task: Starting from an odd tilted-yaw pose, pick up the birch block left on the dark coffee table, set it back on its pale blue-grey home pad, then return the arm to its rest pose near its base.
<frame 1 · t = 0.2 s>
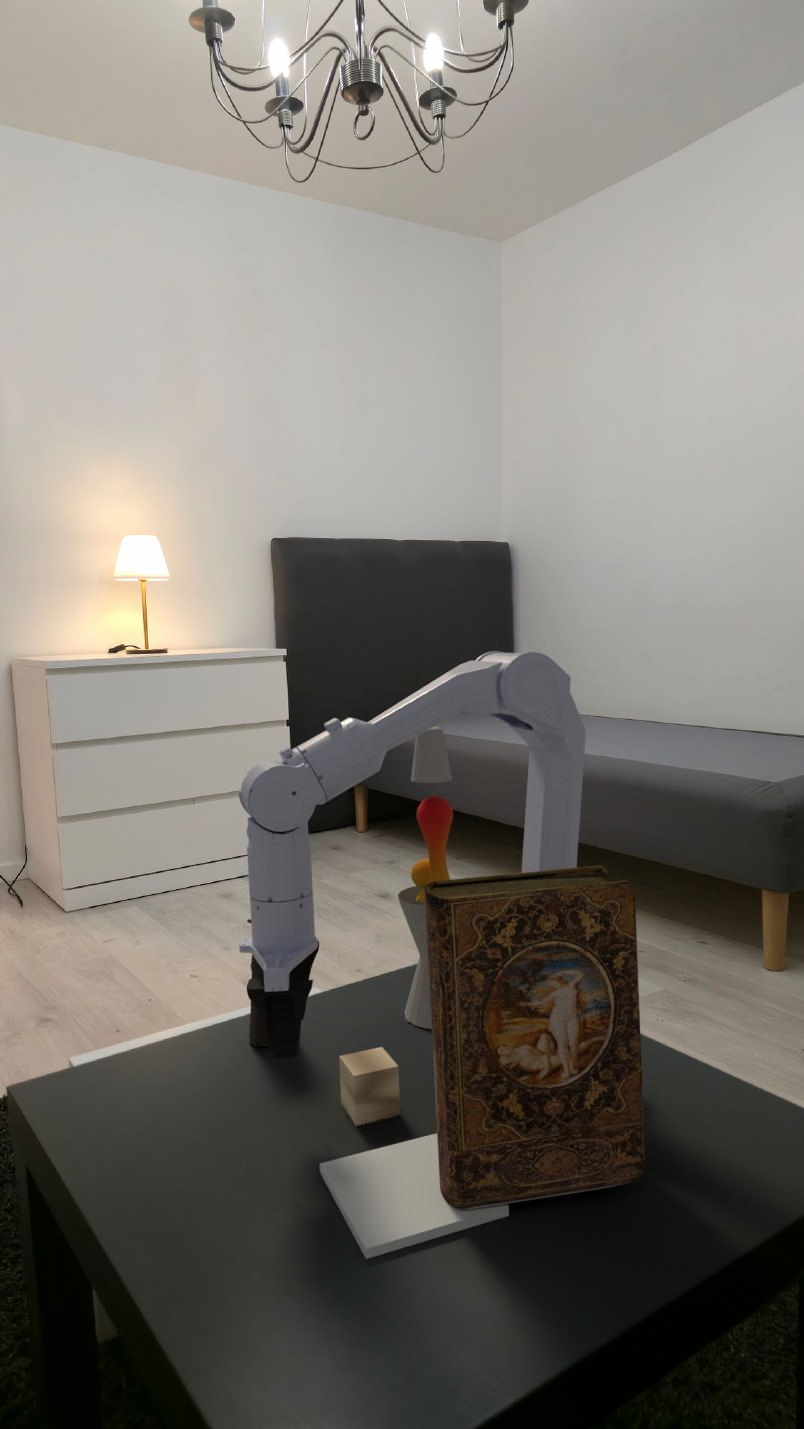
hand: (289, 1036, 84), 9 cm above the table, tool pointing down, fingers open, 7 cm apart
book: (538, 1180, 75), point 1 cm above the table, touching home pad
lava lamp: (439, 1016, 110), on the table
birch block: (370, 1110, 89), on the table
butter churn: (265, 1044, 104), on the table
home pad: (410, 1193, 75), on the table
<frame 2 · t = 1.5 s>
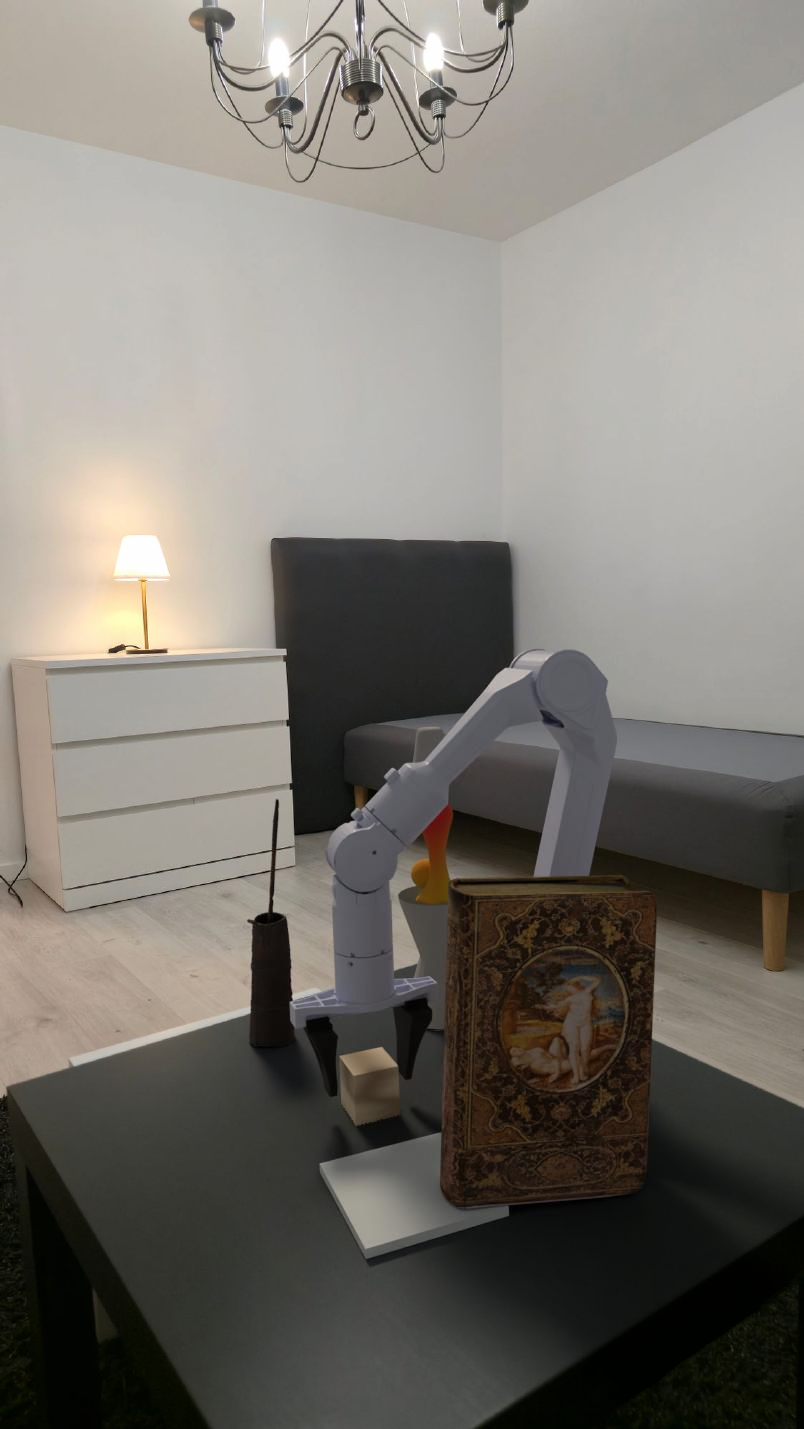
hand: (368, 1083, 88), 3 cm above the table, tool pointing down, fingers open, 7 cm apart
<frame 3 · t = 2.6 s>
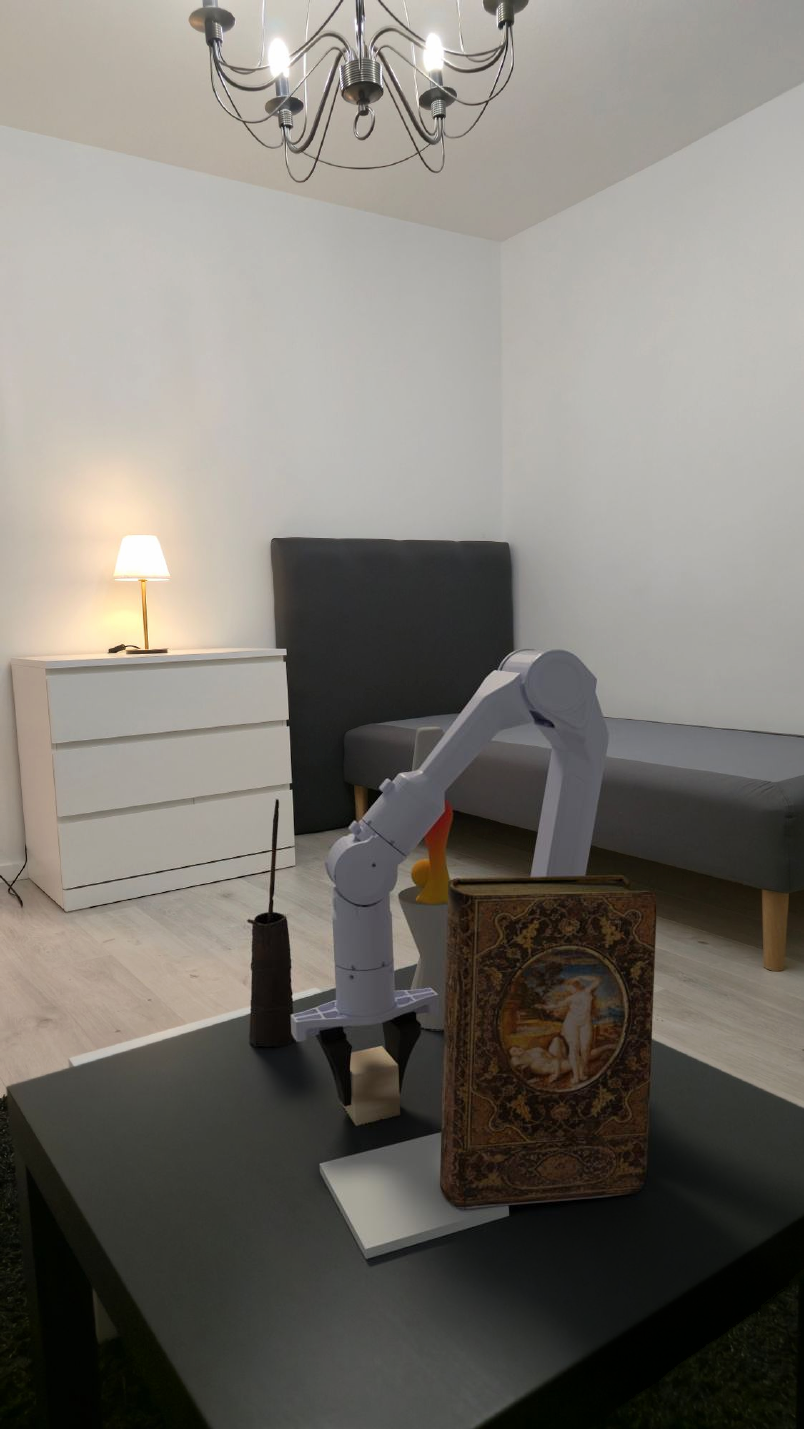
hand: (369, 1095, 89), 1 cm above the table, tool pointing down, fingers closed on birch block, 4 cm apart
book: (538, 1184, 75), on the table, touching home pad
birch block: (370, 1109, 89), on the table, touching gripper
everything else where it was.
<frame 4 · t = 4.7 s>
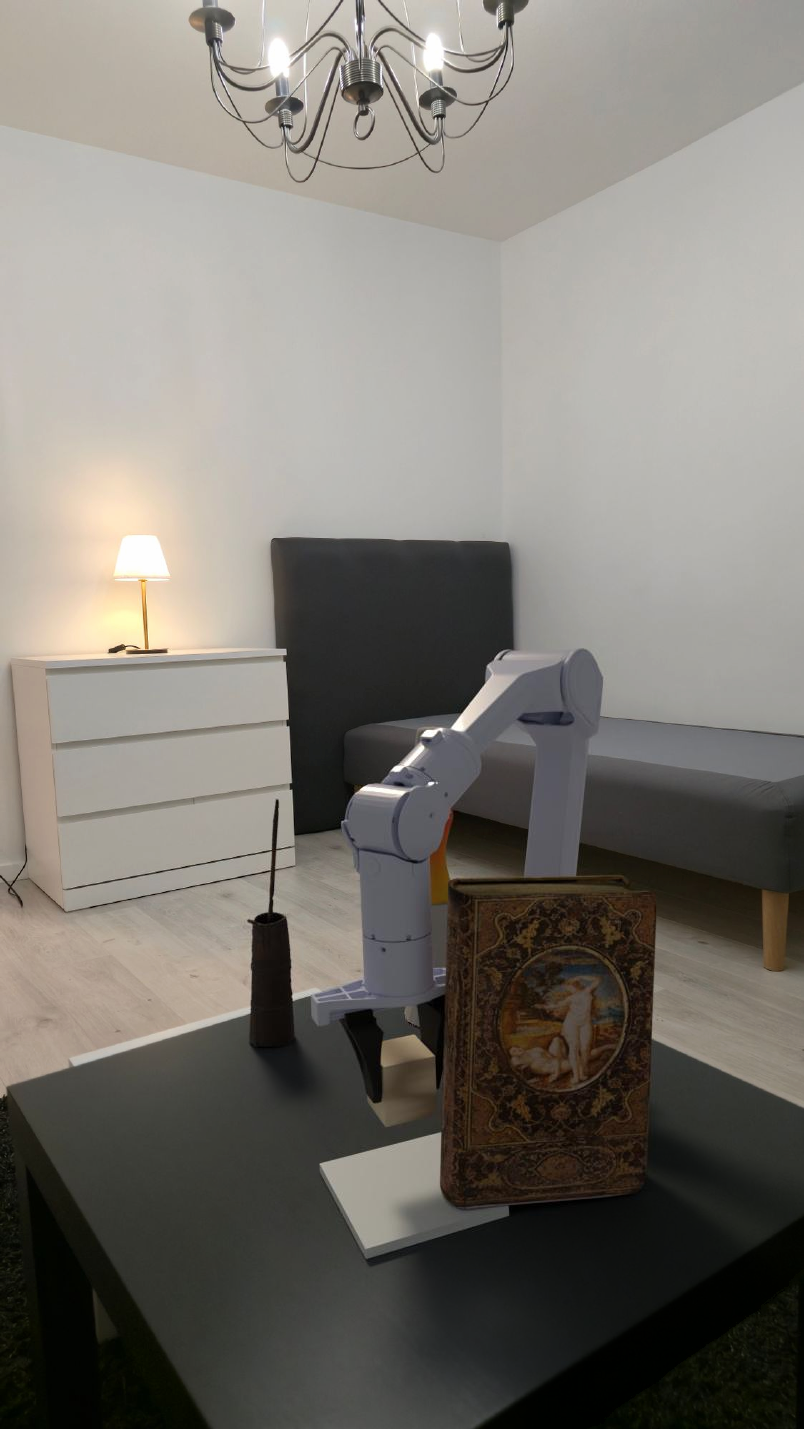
hand: (403, 1090, 75), 8 cm above the table, tool pointing down, fingers closed on birch block, 4 cm apart
birch block: (401, 1108, 76), point 7 cm above the table, touching gripper
everything else where it was.
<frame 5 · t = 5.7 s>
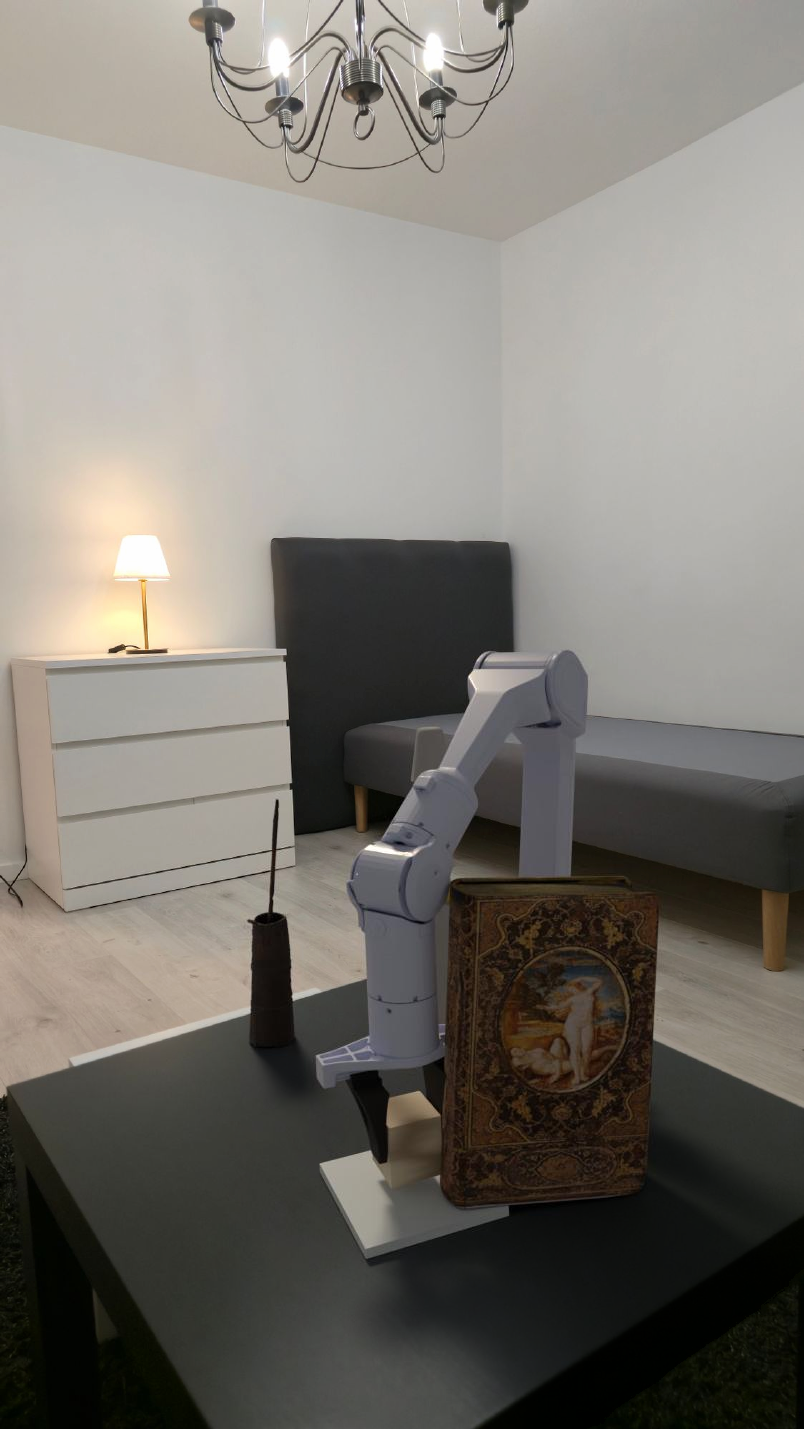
hand: (408, 1149, 75), 4 cm above the table, tool pointing down, fingers closed on birch block, 4 cm apart
birch block: (407, 1166, 75), point 2 cm above the table, touching gripper
everything else where it was.
when the fingers open (4 cm above the table, at t = 6.6 s): birch block stays where it is, resting on book, home pad.
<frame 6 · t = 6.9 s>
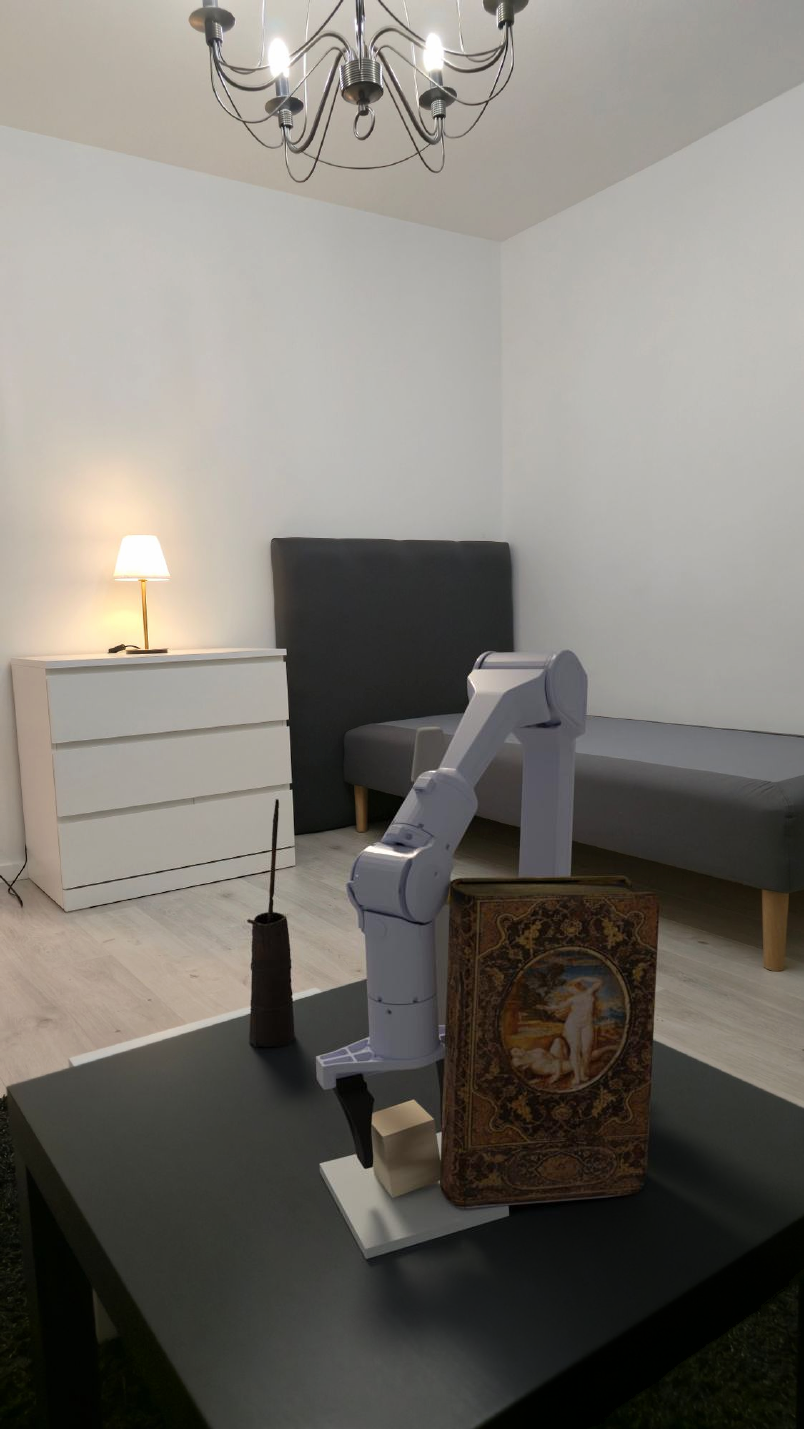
hand: (408, 1150, 75), 4 cm above the table, tool pointing down, fingers open, 7 cm apart
book: (538, 1184, 75), on the table, touching arm, birch block, home pad
birch block: (408, 1176, 75), point 1 cm above the table, tilted 8°, touching book, home pad
everything else where it was.
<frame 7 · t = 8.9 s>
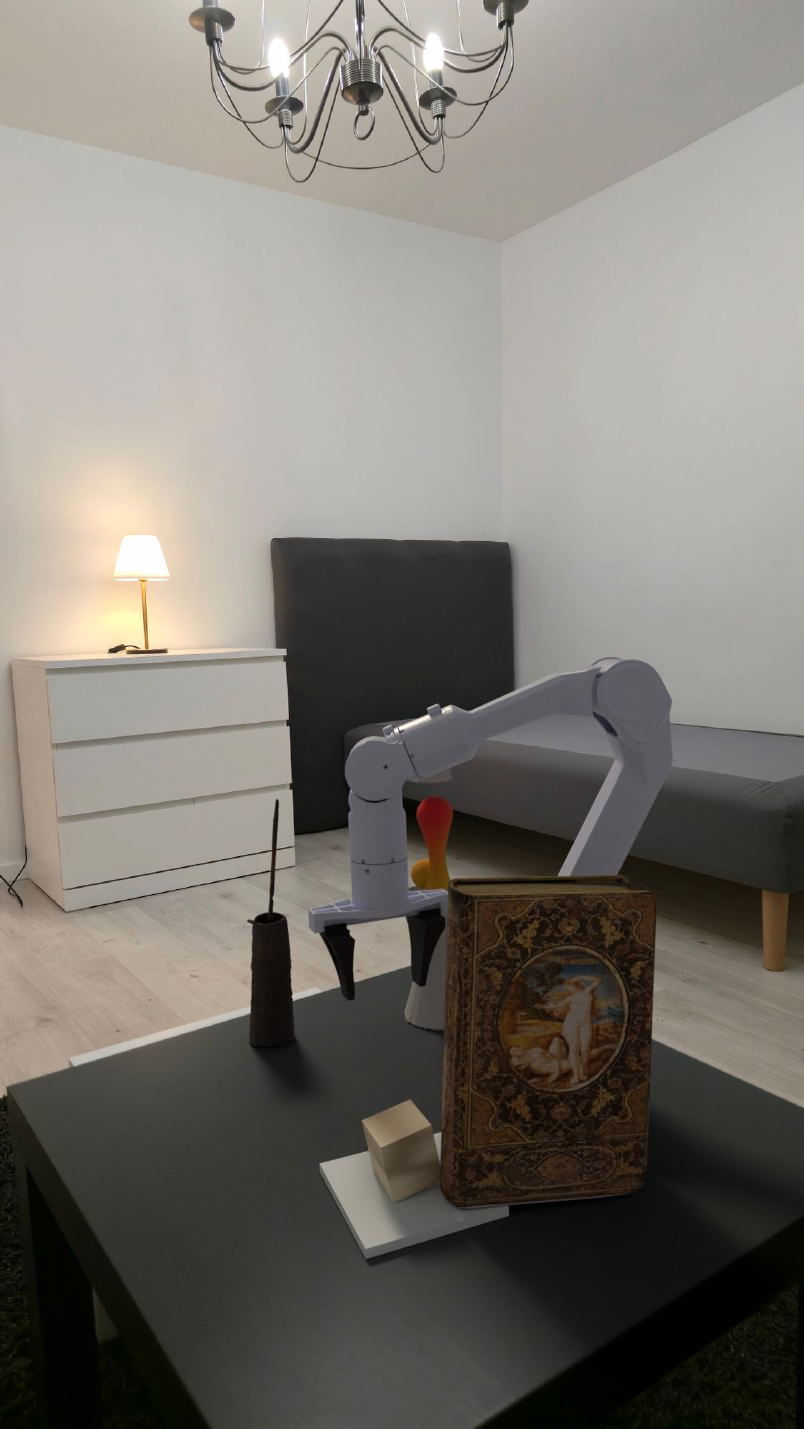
hand: (384, 989, 92), 10 cm above the table, tool pointing down, fingers open, 7 cm apart
book: (538, 1184, 75), on the table, touching birch block, home pad
everything else where it was.
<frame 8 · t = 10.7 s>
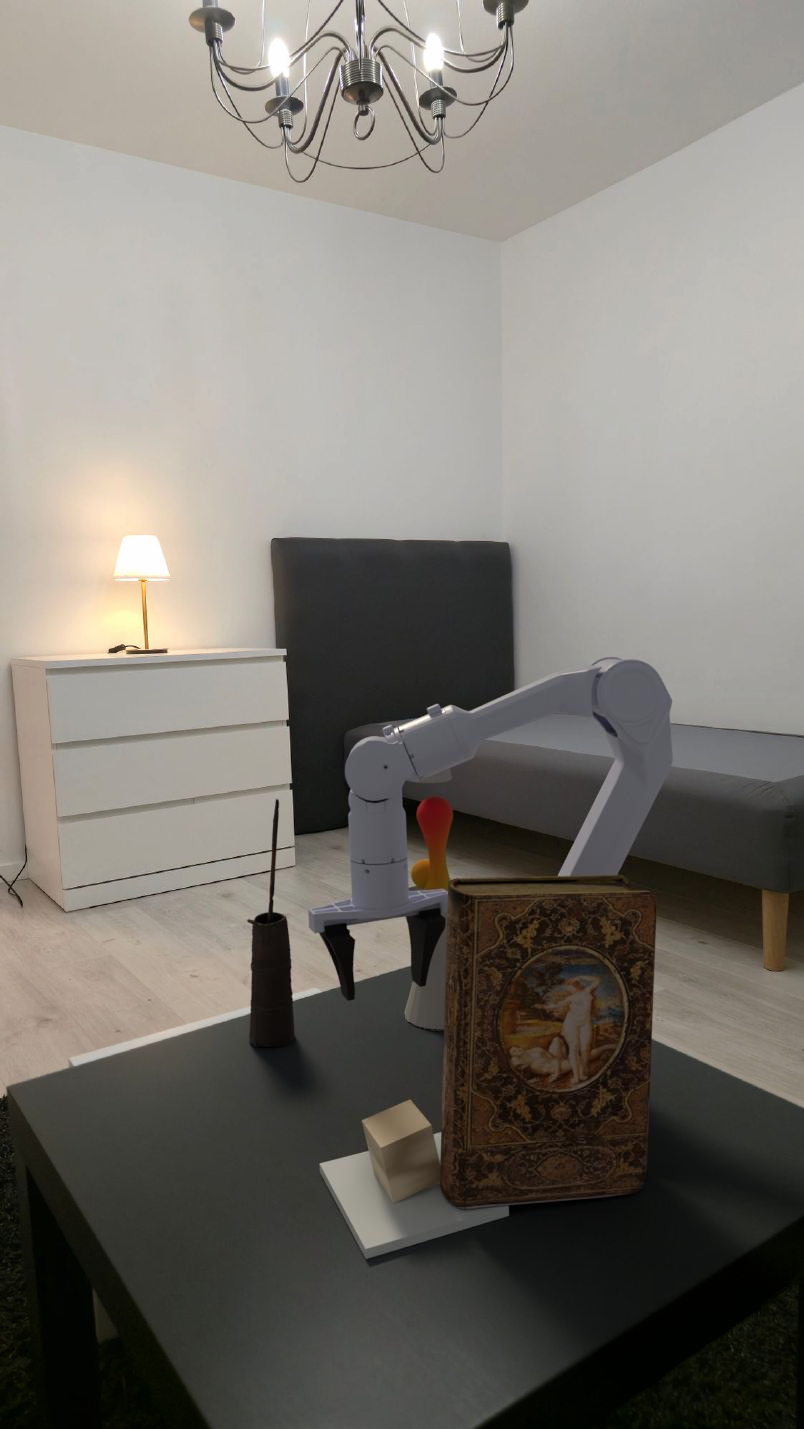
hand: (384, 989, 92), 10 cm above the table, tool pointing down, fingers open, 7 cm apart
nothing on the table moved.
at the end: birch block inside the target area on the home pad (0.4 cm from its centre), point 1.2 cm above the home pad's base; birch block tilted 10°; the gripper is holding nothing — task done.
